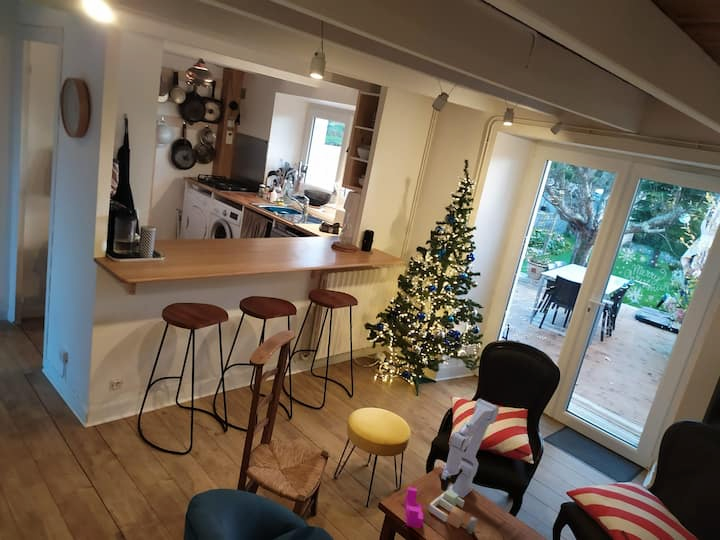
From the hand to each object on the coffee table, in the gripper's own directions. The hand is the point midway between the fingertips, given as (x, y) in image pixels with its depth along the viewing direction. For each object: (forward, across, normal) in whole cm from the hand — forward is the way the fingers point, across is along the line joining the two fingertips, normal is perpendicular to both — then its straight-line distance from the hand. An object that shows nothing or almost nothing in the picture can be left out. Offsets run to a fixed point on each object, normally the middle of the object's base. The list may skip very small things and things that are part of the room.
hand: (447, 486), depth 231 cm
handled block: (+10, +5, +12) cm, 16 cm away
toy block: (+10, +16, -6) cm, 20 cm away
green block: (+10, -3, +1) cm, 10 cm away
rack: (+10, +1, +2) cm, 10 cm away
